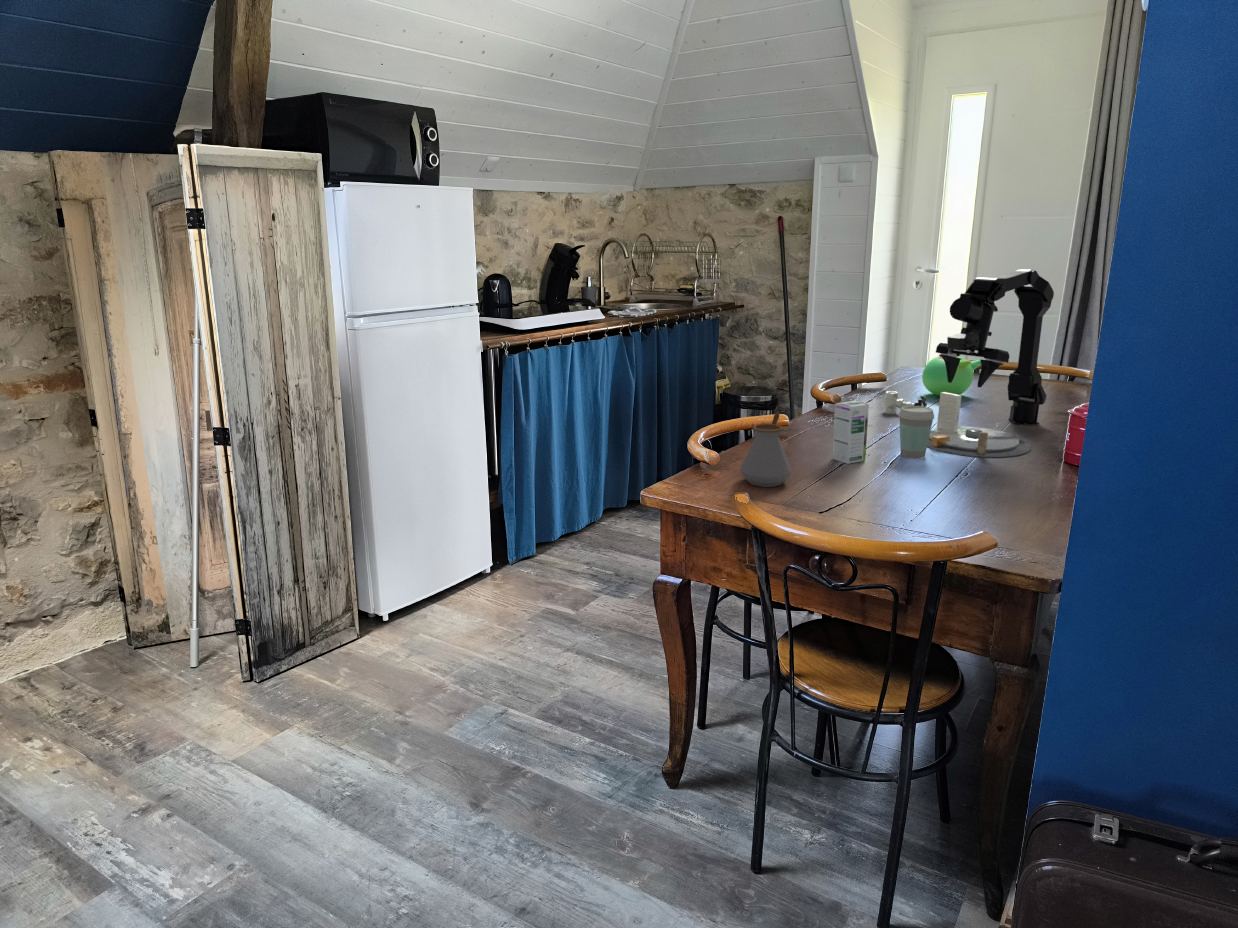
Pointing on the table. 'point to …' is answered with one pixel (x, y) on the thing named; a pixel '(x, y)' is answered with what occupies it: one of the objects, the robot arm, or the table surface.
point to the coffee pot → (766, 456)
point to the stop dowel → (982, 443)
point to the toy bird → (937, 376)
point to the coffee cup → (915, 430)
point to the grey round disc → (1020, 450)
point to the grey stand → (965, 430)
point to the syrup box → (850, 431)
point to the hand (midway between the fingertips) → (964, 384)
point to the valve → (899, 402)
